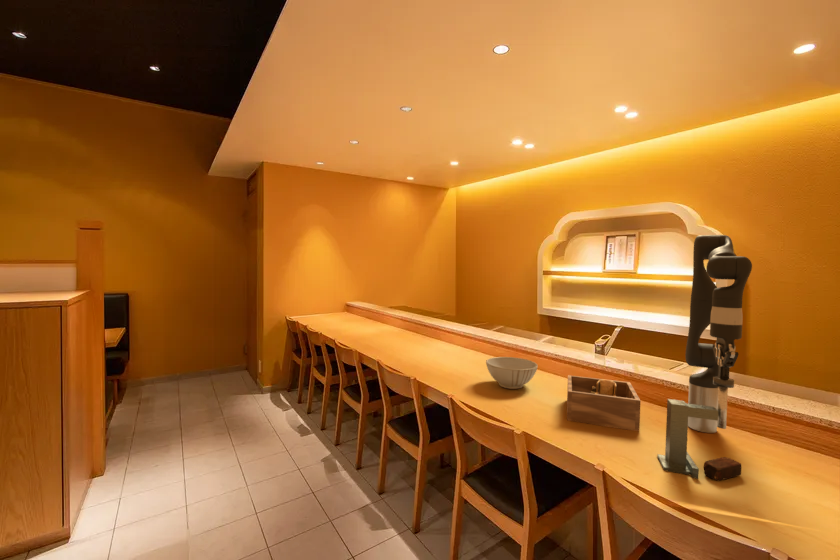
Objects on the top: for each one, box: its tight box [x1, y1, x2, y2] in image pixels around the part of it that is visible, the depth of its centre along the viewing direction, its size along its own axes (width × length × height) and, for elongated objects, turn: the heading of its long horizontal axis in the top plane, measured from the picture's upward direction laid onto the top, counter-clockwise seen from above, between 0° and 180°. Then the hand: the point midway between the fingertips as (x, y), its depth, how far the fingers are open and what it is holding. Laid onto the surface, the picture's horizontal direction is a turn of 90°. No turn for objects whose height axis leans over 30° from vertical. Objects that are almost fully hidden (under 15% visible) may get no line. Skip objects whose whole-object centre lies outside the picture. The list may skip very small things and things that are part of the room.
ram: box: [713, 376, 735, 430], centre depth 114 cm, size 5×5×15 cm
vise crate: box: [566, 374, 641, 432], centre depth 161 cm, size 26×26×12 cm
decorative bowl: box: [485, 356, 538, 390], centre depth 199 cm, size 27×27×12 cm
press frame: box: [656, 398, 718, 480], centre depth 117 cm, size 12×14×20 cm
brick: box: [703, 456, 742, 481], centre depth 114 cm, size 11×4×5 cm
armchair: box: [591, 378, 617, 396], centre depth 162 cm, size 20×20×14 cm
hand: (723, 378), depth 114 cm, fingers closed
